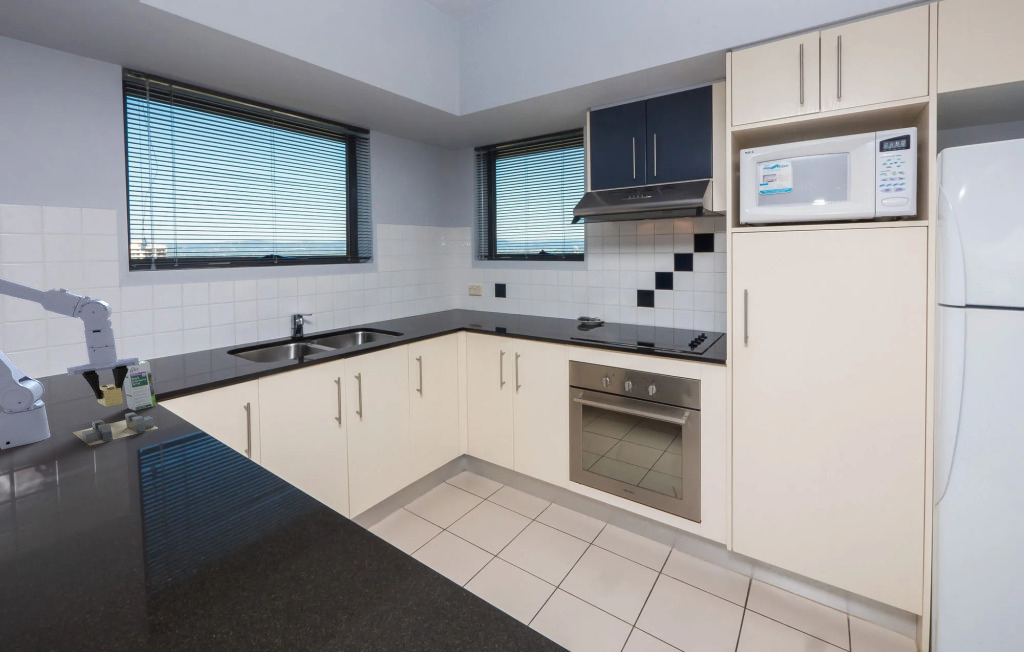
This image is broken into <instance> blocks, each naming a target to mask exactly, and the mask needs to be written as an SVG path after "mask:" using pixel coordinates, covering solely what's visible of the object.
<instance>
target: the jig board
mask: <svg viewBox="0 0 1024 652" xmlns="http://www.w3.org/2000/svg"><path fill="white" fill-rule="evenodd" d="M108 424H109V425H111V430H112V436H113V440H112V441H114V440H117V439H122V438H126V437H130V436H134V435H137V434H139V433H136V432H134V431H133V430H131V429H129V428H127V425H126V419H123V420H120V421H115V422H111V423H108ZM92 429H93V427H89V428H85V429H81V430H76V431H72V432H71V433H73V435H75V436H77V438H78V439H80V440H81V441H82V442H84V443H85V444H87V445H88V446H94V445H99V444H103V443H104V442H103V441H102V440H98V441H94V442H90V443H86V442H85V441H84V440H83V435H82V432H83V431H88V430H92ZM157 429H158V427H157V426H155V425H154V427H150V428H146V431H145V432H148V431H153V430H157ZM145 432H144V433H145ZM141 433H143V432H141ZM141 433H140V434H141ZM109 441H110V442H111V440H109ZM109 441H108V442H109Z"/></svg>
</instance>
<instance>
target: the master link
mask: <svg viewBox="0 0 1024 652" xmlns="http://www.w3.org/2000/svg"><path fill="white" fill-rule="evenodd" d="M99 386H100V391H101V395H102V399H97V403H98V404H100V405H102V406H104V407H106V408H108V407H111V406H112V407H113V406H116V405H122V404H124V399H123V394H122V393H123V391H122V392H121V388H120V387H118V386H115V384H113V383H111V384H110V383H109V384H103V385H99Z"/></svg>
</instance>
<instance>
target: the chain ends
mask: <svg viewBox="0 0 1024 652" xmlns="http://www.w3.org/2000/svg"><path fill="white" fill-rule="evenodd" d="M124 417H125V418H124V420H126V425H127V428H129V429H131V430H133V431H134V432H136V433H138V434H141V432H142V433H145V431H146V428H150V427H154V426H155V422H154V421H155V420H154V417H151V416H149V415H148V416H142V415H138V414H137V413H136V412H133V411H132V412H128V413H125V414H124ZM109 424H110V423H105V421H104V420H103V419H97V420H92V421H91V425H92V426H91V427H92V428H93V429H92V430H88V431H83V432H82V435H83V440H84V441H85V442H86V443H85V442H84V441H83V440H82V441H83V442H84V443H85V444H87V443H90V442H94V441H98V440H102V441H103V442H102V443H107V442H109V440H110V441H114V440H113V436H112V430H111V425H109ZM146 432H147V431H146Z"/></svg>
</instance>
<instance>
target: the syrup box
mask: <svg viewBox="0 0 1024 652" xmlns="http://www.w3.org/2000/svg"><path fill="white" fill-rule="evenodd" d="M127 368H128V373H127V375H126V377H125V379H124V383H123V386H124V391H125V397H126V403H127V408H128V409H129V410H132V411H139V410H142V409H147V408H152V407H156V406H157V402H156V395H155V389H154V383H153V377H152V371H151V364H150V362H149V361H147V360H140V361H139V365H135V366H134V365H133V366H127Z"/></svg>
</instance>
